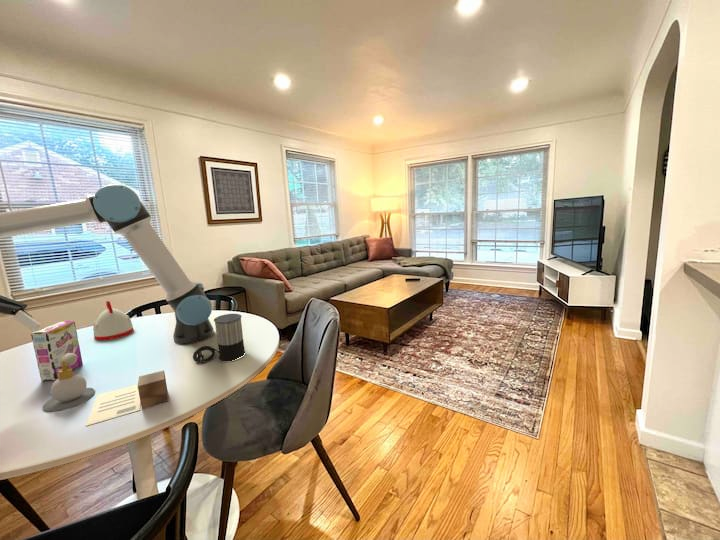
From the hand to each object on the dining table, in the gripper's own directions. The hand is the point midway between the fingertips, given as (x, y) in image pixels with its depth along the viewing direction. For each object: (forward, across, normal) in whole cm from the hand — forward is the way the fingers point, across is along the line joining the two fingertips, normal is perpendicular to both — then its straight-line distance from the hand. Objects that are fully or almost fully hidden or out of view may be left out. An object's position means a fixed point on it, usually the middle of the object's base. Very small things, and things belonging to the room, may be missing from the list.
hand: (13, 337), depth 85 cm
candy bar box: (+10, -18, -18) cm, 27 cm away
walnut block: (+40, +3, +12) cm, 41 cm away
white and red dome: (+5, -52, -23) cm, 57 cm away
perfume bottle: (+21, -1, -6) cm, 22 cm away
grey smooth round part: (+21, 0, -6) cm, 22 cm away
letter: (+32, +3, +4) cm, 33 cm away
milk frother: (+46, -22, +18) cm, 54 cm away
